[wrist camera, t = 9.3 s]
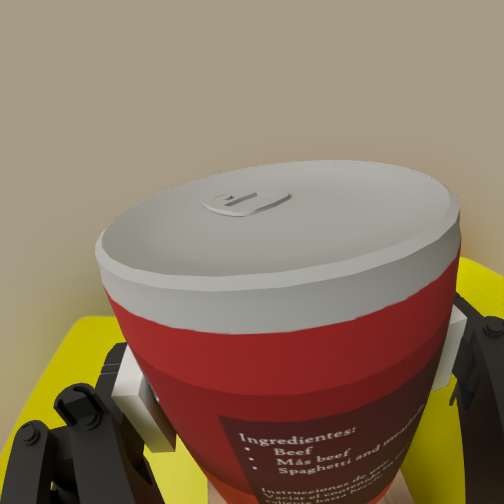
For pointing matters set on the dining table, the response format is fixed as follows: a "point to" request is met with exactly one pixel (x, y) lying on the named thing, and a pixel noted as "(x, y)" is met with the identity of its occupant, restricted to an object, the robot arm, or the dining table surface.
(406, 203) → the canned food
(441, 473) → the dining table surface
